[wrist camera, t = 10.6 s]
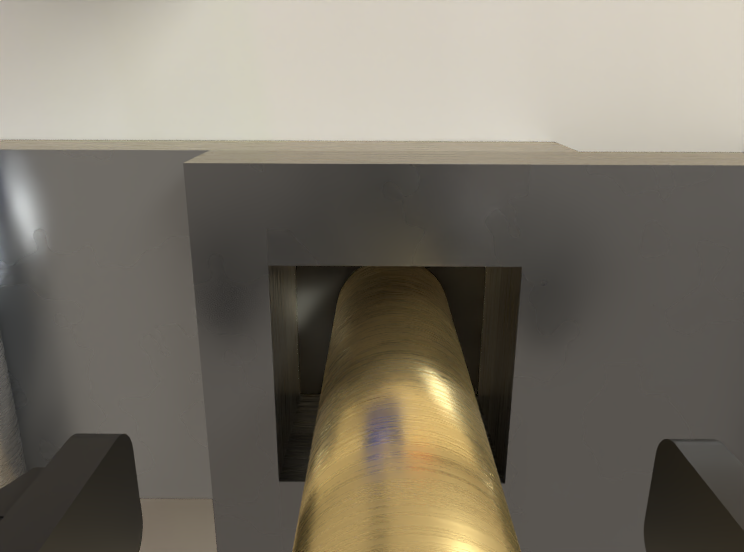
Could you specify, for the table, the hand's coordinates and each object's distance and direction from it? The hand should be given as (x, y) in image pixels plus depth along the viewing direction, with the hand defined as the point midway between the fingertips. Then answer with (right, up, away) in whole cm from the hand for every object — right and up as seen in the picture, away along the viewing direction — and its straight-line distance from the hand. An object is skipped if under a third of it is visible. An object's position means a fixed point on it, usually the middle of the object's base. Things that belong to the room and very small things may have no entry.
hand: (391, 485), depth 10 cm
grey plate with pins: (0, +2, +7) cm, 8 cm away
